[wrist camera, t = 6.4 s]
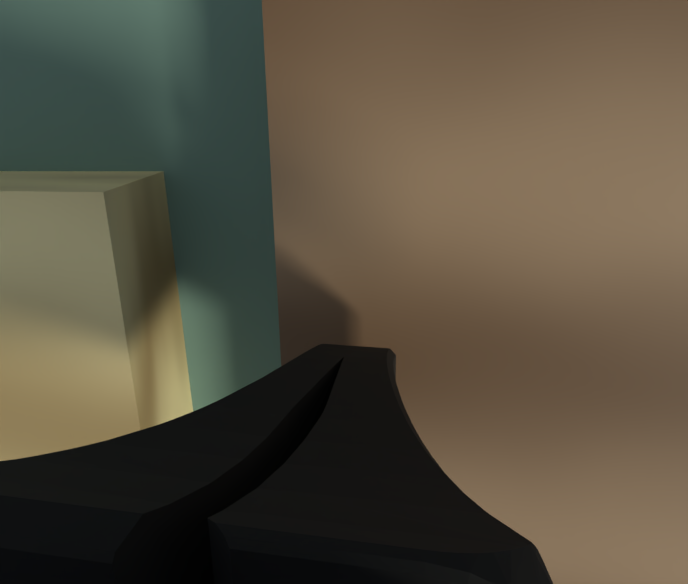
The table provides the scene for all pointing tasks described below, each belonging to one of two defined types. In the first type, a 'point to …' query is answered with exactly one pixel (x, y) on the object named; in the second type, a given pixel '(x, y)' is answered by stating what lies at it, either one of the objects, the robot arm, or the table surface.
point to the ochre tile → (87, 310)
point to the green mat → (162, 148)
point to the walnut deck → (502, 248)
